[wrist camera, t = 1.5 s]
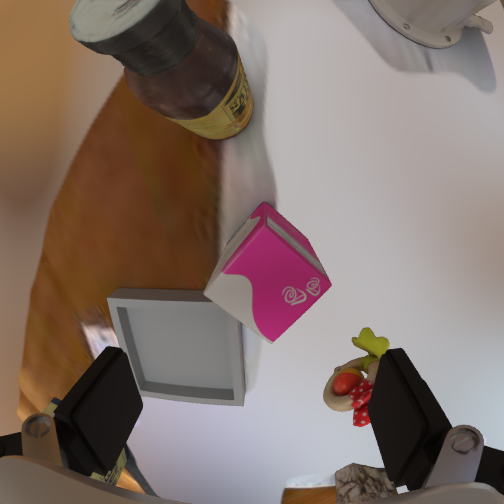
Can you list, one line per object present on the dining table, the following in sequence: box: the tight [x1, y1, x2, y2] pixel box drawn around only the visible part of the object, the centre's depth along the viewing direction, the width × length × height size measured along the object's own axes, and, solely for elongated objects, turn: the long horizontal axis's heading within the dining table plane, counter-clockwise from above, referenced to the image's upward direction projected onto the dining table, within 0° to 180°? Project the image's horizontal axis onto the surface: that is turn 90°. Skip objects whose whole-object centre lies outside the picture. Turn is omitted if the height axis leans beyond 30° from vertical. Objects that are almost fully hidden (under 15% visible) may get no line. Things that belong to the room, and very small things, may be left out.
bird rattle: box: [323, 328, 389, 427], centre depth 27 cm, size 6×11×9 cm
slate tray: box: [107, 288, 246, 406], centre depth 31 cm, size 14×14×3 cm
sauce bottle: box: [69, 0, 253, 140], centre depth 15 cm, size 7×6×20 cm
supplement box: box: [203, 202, 332, 343], centre depth 22 cm, size 6×6×12 cm
